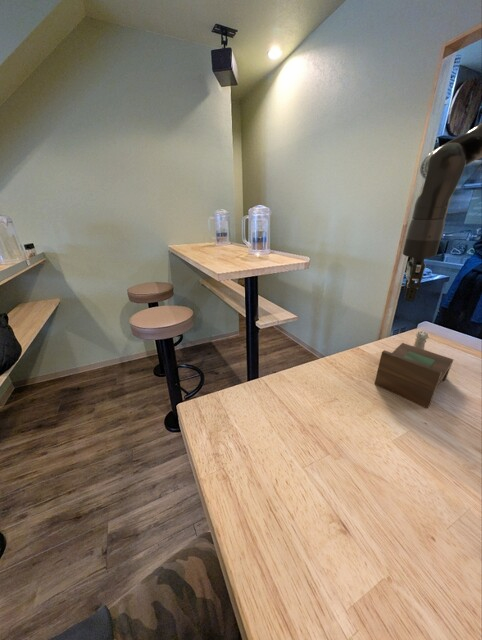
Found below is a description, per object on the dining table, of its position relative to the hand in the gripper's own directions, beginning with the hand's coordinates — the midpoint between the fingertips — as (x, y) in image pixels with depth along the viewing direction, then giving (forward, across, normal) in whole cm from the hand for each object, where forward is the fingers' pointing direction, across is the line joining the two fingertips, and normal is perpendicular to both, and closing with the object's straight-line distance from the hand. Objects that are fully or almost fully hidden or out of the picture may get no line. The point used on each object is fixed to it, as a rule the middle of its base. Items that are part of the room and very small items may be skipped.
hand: (408, 296), depth 72 cm
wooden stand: (+18, -15, -4) cm, 24 cm away
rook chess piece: (+19, 0, -6) cm, 20 cm away
